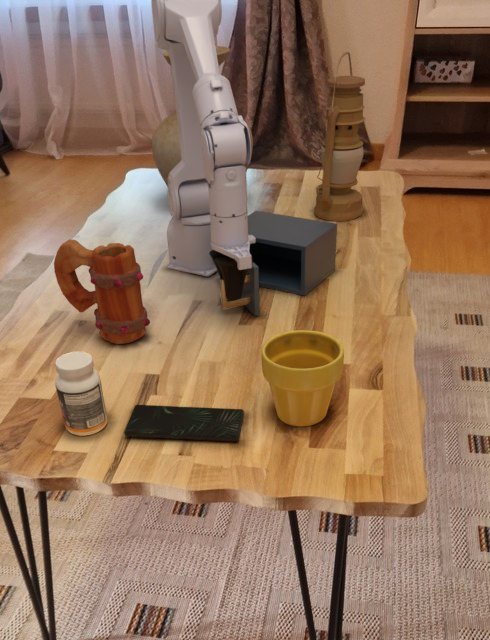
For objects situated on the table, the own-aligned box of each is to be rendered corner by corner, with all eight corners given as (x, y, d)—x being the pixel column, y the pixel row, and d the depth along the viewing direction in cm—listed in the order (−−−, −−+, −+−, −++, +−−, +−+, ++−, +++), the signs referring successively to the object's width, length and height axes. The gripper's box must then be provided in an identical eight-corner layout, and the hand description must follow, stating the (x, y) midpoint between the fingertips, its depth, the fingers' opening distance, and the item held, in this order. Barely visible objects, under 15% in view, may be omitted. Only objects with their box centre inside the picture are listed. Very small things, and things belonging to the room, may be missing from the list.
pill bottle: (67, 415, 100) (52, 350, 93) (109, 412, 100) (97, 347, 94) (63, 439, 95) (48, 373, 89) (107, 435, 96) (94, 369, 89)
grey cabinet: (304, 296, 126) (305, 246, 120) (223, 278, 133) (221, 231, 127) (335, 270, 133) (337, 223, 128) (257, 255, 141) (256, 210, 135)
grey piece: (226, 322, 119) (223, 273, 114) (193, 285, 131) (189, 239, 126) (259, 315, 120) (258, 266, 115) (223, 278, 132) (221, 233, 127)
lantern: (318, 200, 164) (323, 45, 144) (365, 201, 162) (376, 44, 142) (309, 224, 152) (313, 58, 133) (359, 225, 150) (371, 58, 131)
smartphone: (238, 437, 92) (123, 432, 94) (238, 444, 93) (124, 438, 95) (244, 408, 97) (135, 403, 99) (244, 414, 98) (135, 409, 100)
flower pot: (287, 444, 92) (288, 377, 86) (248, 406, 99) (246, 342, 93) (355, 421, 96) (360, 354, 89) (313, 386, 103) (315, 322, 97)
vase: (254, 219, 156) (251, 58, 137) (153, 223, 157) (135, 63, 138) (253, 187, 173) (250, 39, 154) (162, 191, 174) (147, 45, 154)
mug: (161, 328, 119) (150, 236, 109) (140, 352, 113) (127, 257, 103) (82, 319, 123) (64, 229, 113) (58, 341, 117) (37, 249, 107)
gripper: (270, 222, 106) (271, 309, 114) (238, 194, 116) (241, 275, 125) (224, 229, 104) (228, 317, 113) (196, 200, 115) (202, 282, 123)
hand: (232, 296), depth 119 cm, fingers closed, pressing on grey piece
